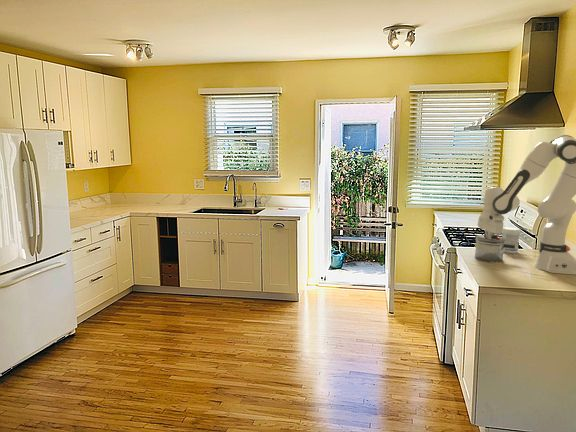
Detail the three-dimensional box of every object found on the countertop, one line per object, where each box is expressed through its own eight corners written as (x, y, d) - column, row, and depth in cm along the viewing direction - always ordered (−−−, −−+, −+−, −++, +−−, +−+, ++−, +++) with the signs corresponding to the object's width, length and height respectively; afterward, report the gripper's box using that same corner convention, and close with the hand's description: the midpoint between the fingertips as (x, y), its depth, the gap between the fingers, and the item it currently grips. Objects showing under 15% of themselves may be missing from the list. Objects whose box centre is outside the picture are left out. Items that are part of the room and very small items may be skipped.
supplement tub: (520, 252, 287) (523, 229, 284) (510, 254, 283) (512, 230, 280) (507, 249, 296) (509, 226, 293) (497, 250, 291) (499, 227, 289)
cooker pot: (512, 258, 273) (514, 240, 271) (513, 265, 259) (515, 246, 257) (475, 253, 282) (476, 236, 280) (473, 260, 268) (475, 241, 266)
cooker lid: (505, 238, 274) (506, 233, 273) (505, 243, 259) (506, 238, 258) (476, 235, 280) (476, 230, 280) (474, 240, 265) (475, 235, 265)
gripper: (476, 211, 273) (473, 234, 276) (495, 218, 253) (492, 242, 256) (486, 211, 274) (483, 234, 276) (506, 218, 254) (503, 242, 257)
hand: (488, 238), depth 266 cm, fingers closed, pressing on cooker lid
